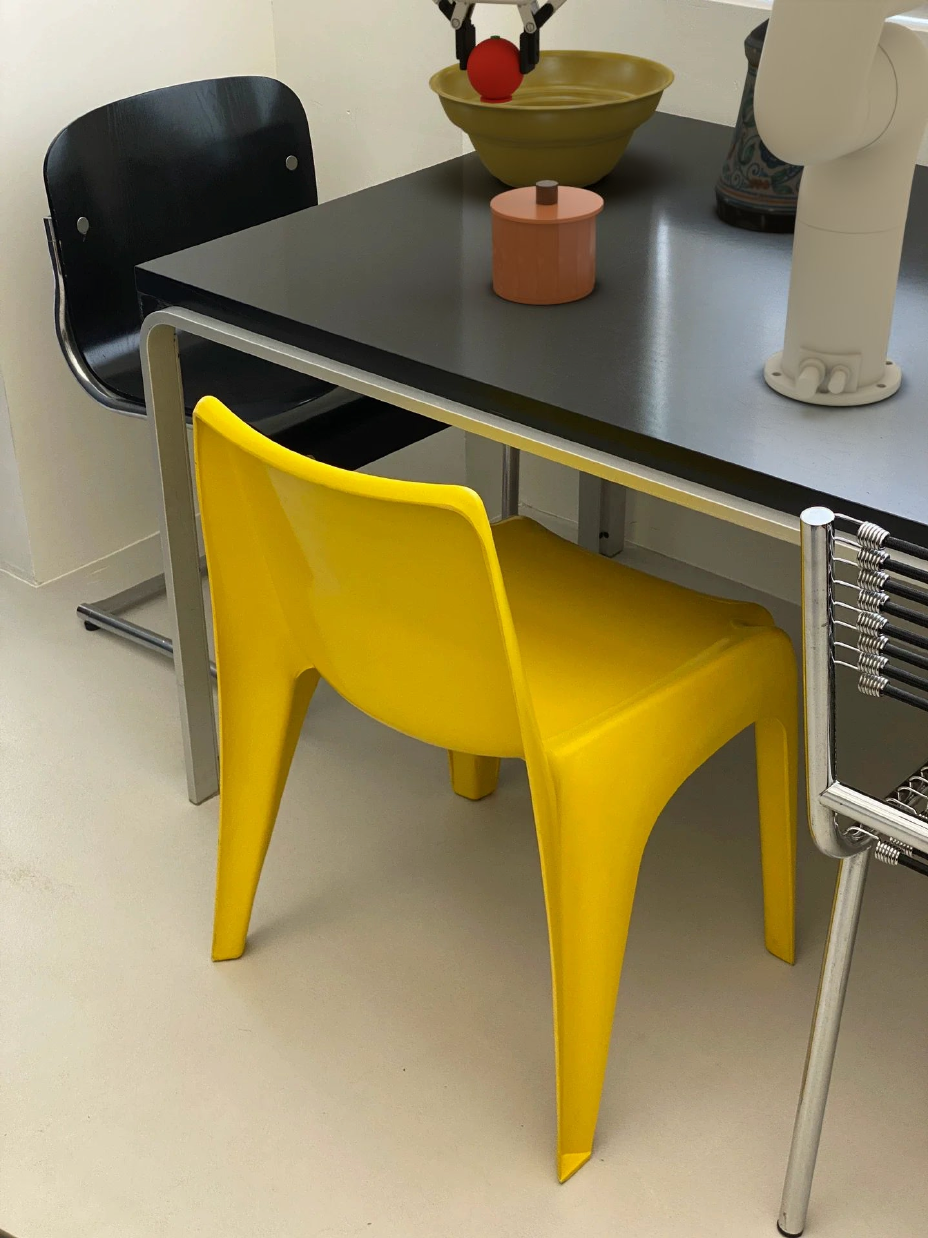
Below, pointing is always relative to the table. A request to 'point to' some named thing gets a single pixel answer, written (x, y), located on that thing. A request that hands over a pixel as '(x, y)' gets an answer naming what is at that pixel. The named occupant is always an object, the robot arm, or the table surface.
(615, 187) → the table surface
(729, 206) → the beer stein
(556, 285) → the pot
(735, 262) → the table surface
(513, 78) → the tomato
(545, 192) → the pot lid
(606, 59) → the planter bowl
